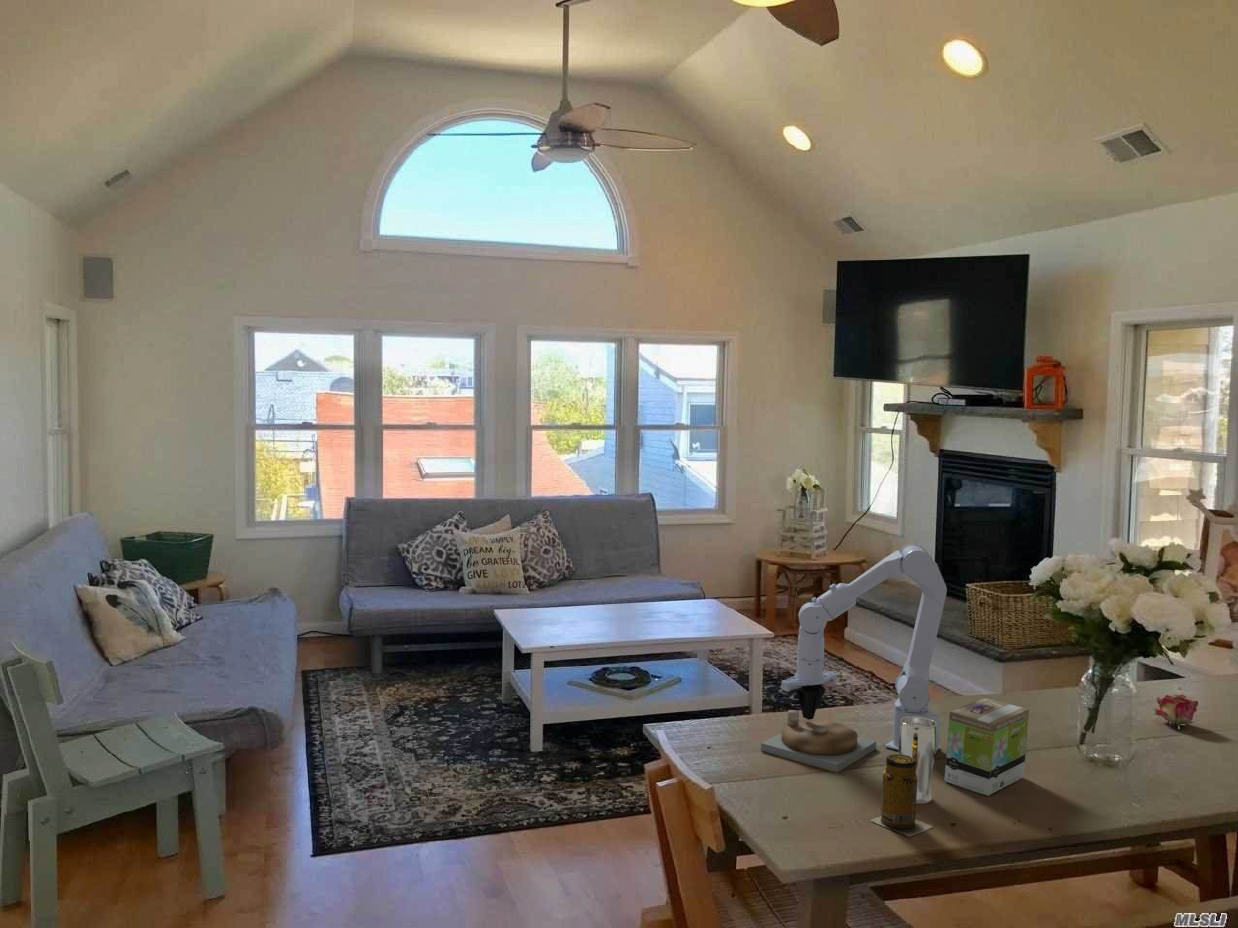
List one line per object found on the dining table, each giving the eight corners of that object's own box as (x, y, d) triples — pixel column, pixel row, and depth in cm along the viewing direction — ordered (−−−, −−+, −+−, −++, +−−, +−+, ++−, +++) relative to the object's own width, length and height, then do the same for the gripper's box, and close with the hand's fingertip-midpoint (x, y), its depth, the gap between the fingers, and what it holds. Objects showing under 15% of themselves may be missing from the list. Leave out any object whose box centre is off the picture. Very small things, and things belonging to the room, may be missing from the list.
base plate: (875, 748, 223) (876, 741, 223) (837, 772, 209) (837, 764, 209) (802, 729, 235) (802, 721, 235) (760, 750, 221) (761, 742, 221)
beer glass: (928, 808, 193) (932, 730, 192) (891, 799, 197) (895, 722, 196) (938, 795, 199) (942, 720, 198) (902, 787, 203) (906, 713, 201)
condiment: (893, 811, 192) (897, 748, 191) (933, 827, 185) (936, 762, 184) (869, 821, 187) (872, 757, 186) (909, 838, 181) (912, 772, 179)
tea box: (990, 798, 199) (995, 723, 197) (942, 782, 206) (946, 710, 205) (1025, 778, 209) (1030, 707, 208) (979, 763, 216) (983, 695, 215)
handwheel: (870, 740, 223) (871, 717, 223) (835, 760, 211) (836, 737, 210) (804, 723, 233) (805, 701, 233) (767, 741, 221) (768, 719, 220)
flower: (1208, 728, 236) (1205, 695, 240) (1170, 719, 236) (1167, 686, 240) (1183, 739, 245) (1181, 707, 249) (1146, 730, 245) (1144, 698, 248)
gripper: (822, 649, 234) (820, 707, 235) (773, 657, 226) (770, 717, 228) (844, 657, 228) (842, 716, 229) (794, 665, 220) (792, 727, 222)
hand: (808, 717), depth 228 cm, fingers closed
